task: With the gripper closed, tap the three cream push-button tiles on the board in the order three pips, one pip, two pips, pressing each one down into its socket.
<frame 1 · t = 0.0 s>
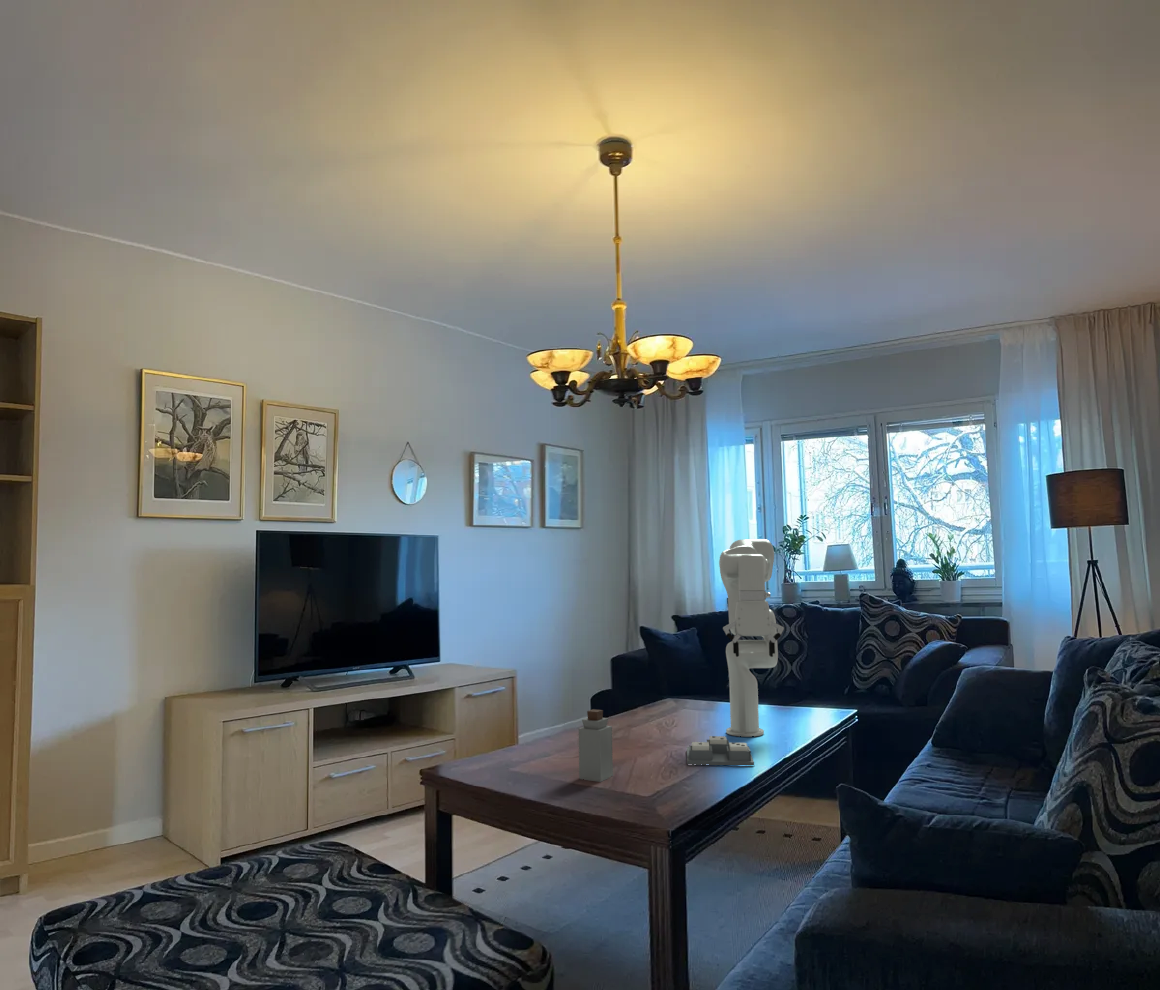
hand: (754, 656, 229), 31 cm above the table, tool pointing down, fingers open, 9 cm apart
perfume bottle: (596, 778, 217), on the table
button board: (719, 758, 236), on the table
button two: (717, 741, 241), point 4 cm above the table, slide at 0.0 cm
button three: (738, 747, 232), point 4 cm above the table, slide at 0.0 cm
button one: (700, 747, 233), point 4 cm above the table, slide at 0.0 cm
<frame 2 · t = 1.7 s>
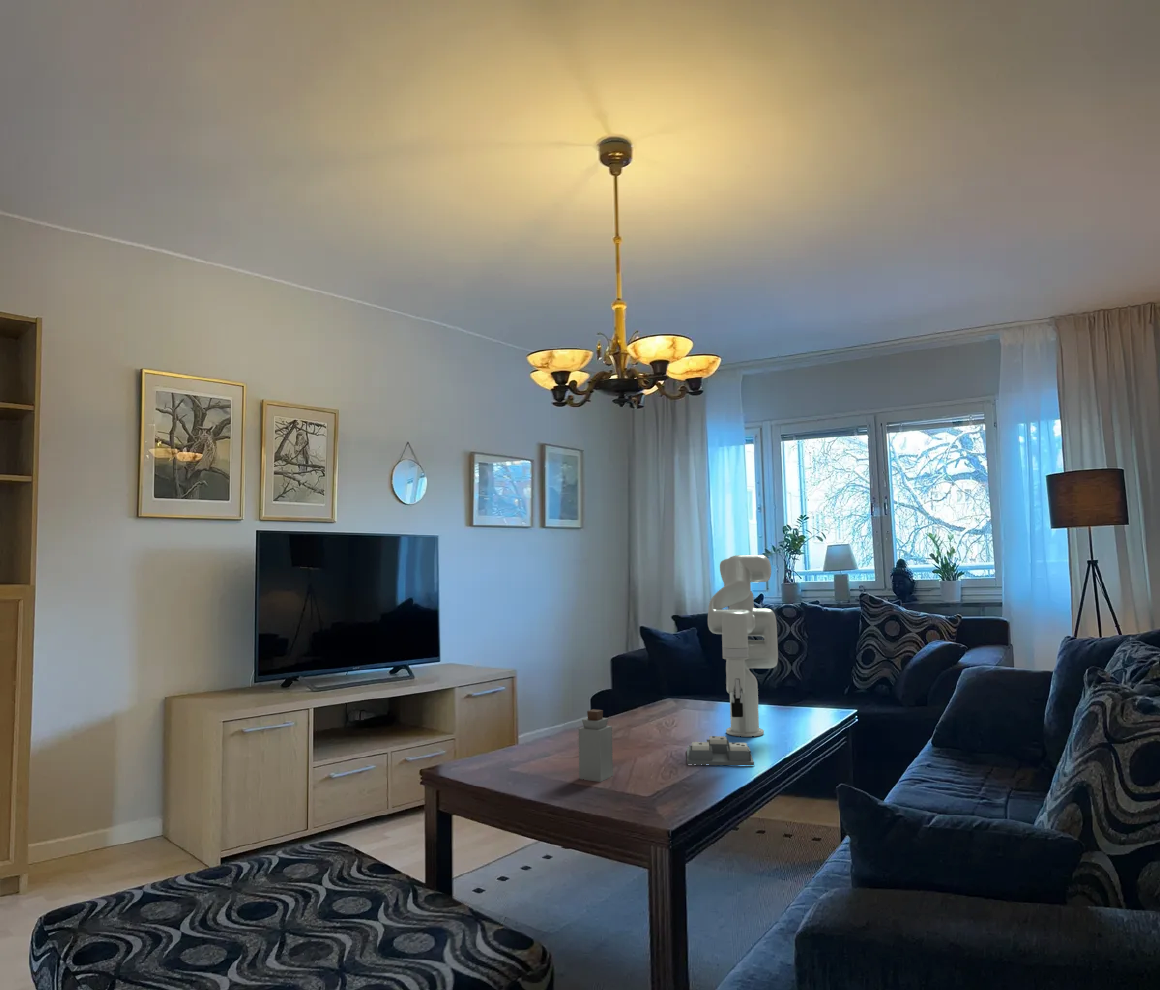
hand: (737, 716, 233), 13 cm above the table, tool pointing down, fingers closed
nothing on the table moved.
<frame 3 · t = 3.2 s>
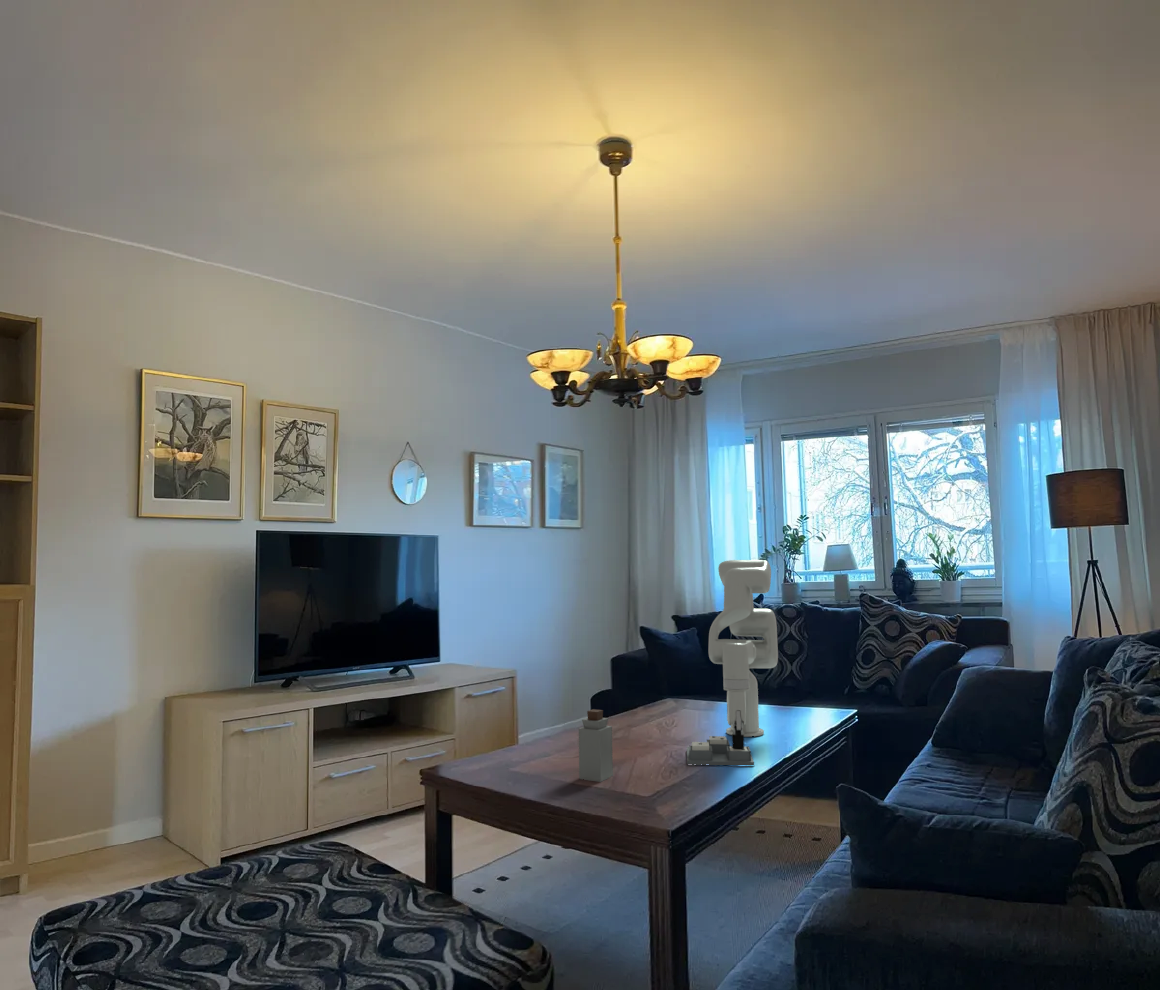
hand: (738, 748, 232), 4 cm above the table, tool pointing down, fingers closed
button three: (738, 751, 232), point 3 cm above the table, slide at 1.2 cm, touching gripper
everything else where it was.
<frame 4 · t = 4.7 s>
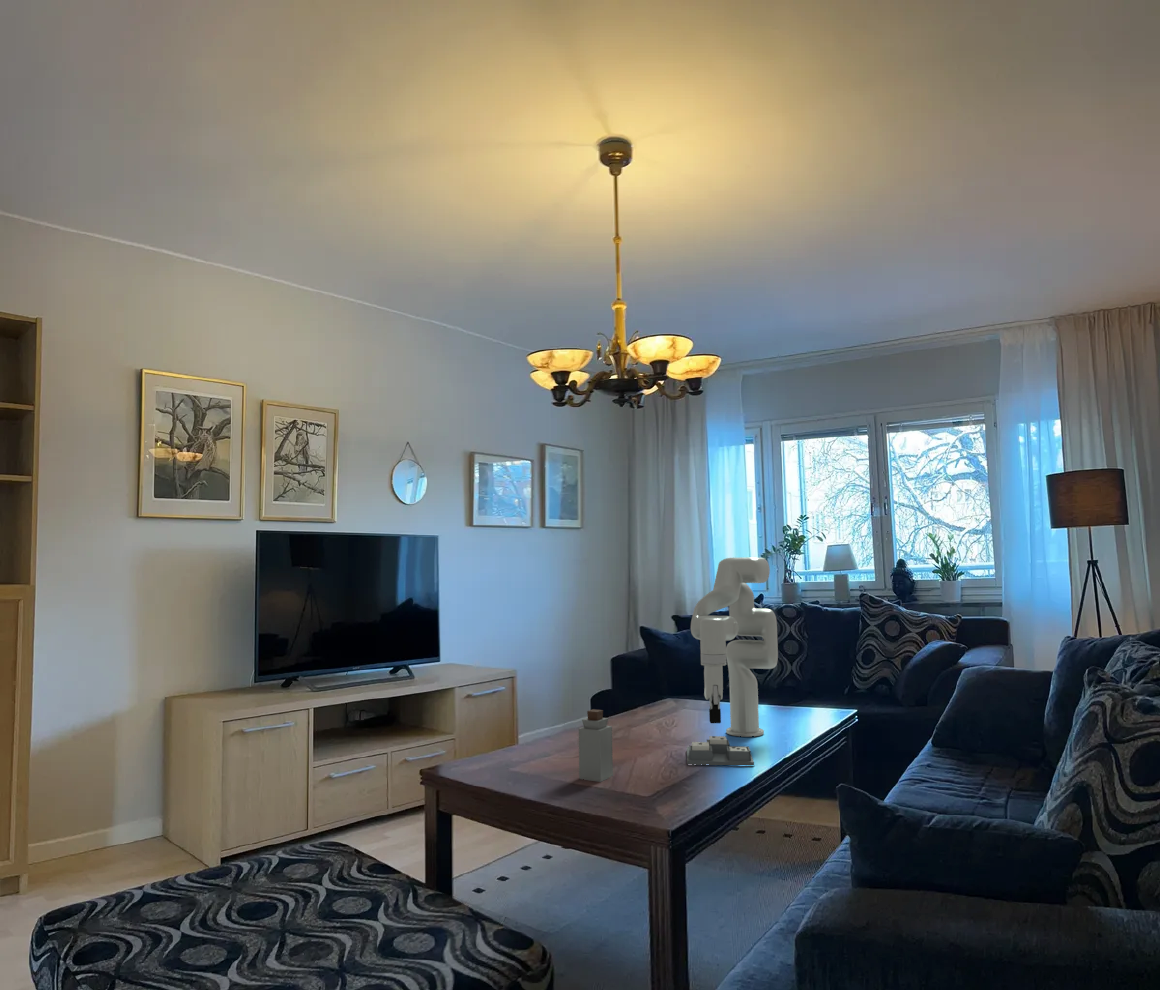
hand: (715, 722, 233), 11 cm above the table, tool pointing down, fingers closed
button three: (738, 752, 232), point 3 cm above the table, slide at 1.3 cm
everything else where it was.
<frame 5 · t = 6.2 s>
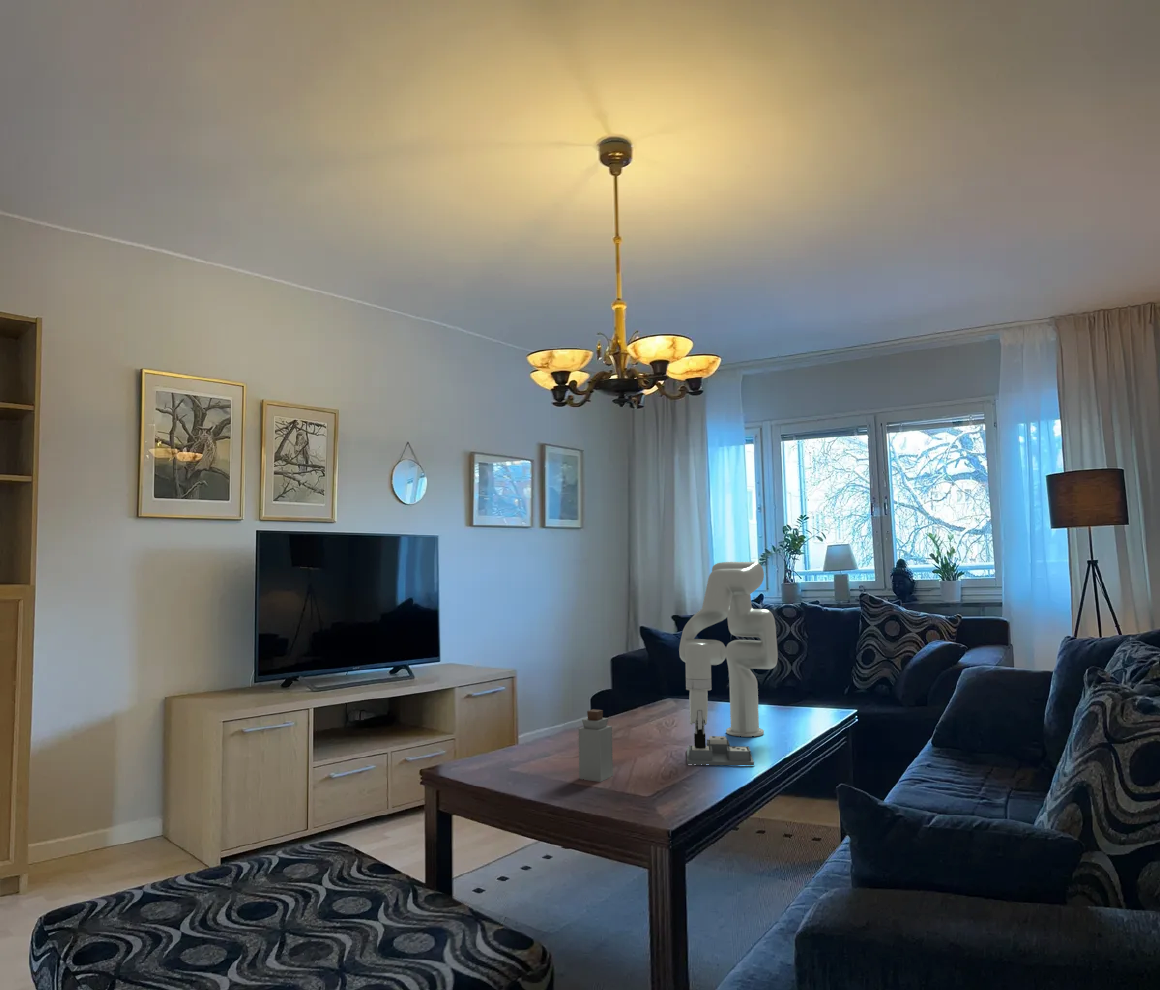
hand: (700, 747, 233), 4 cm above the table, tool pointing down, fingers closed
button one: (700, 751, 233), point 3 cm above the table, slide at 1.1 cm, touching gripper
everything else where it was.
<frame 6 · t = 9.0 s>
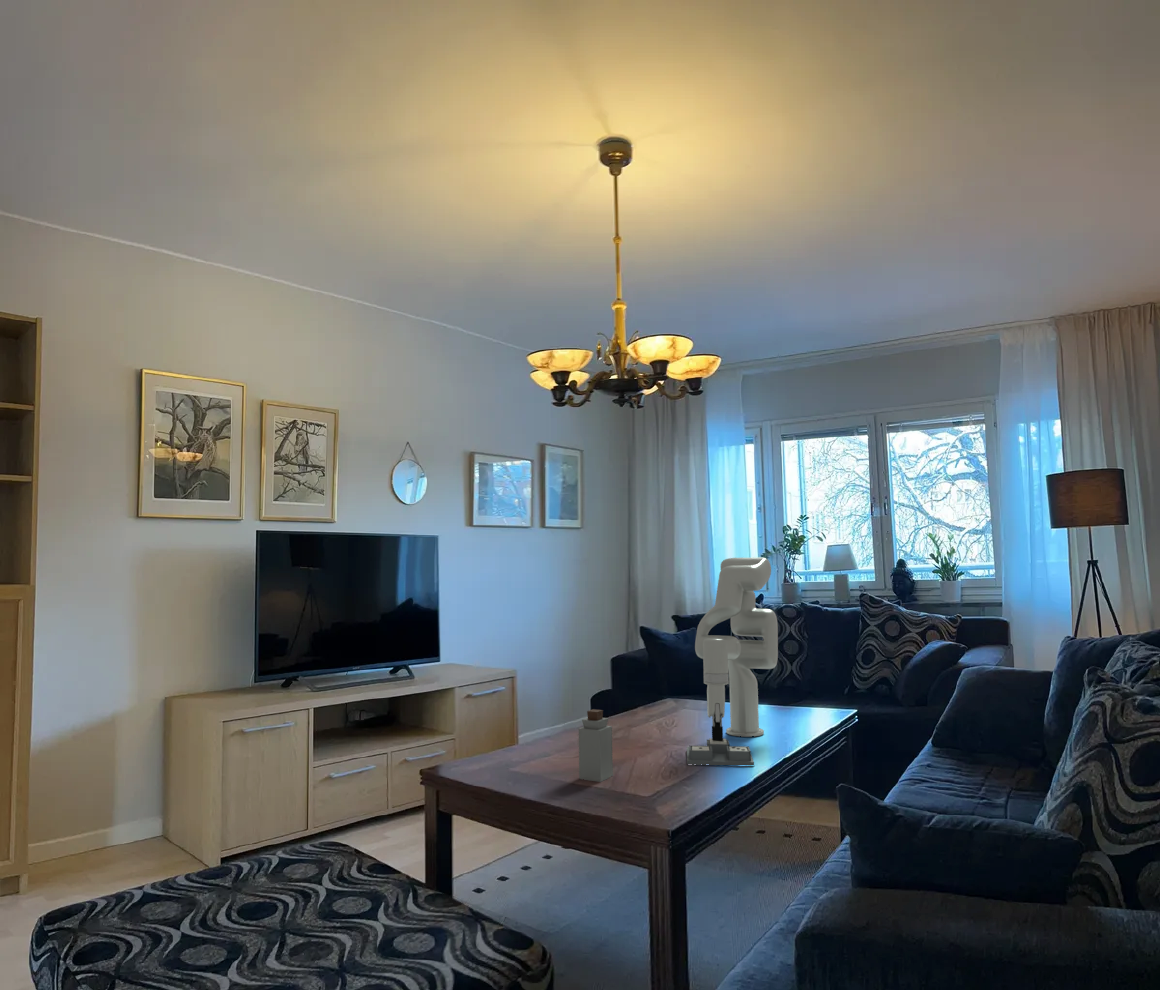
hand: (717, 739, 241), 5 cm above the table, tool pointing down, fingers closed
button two: (718, 743, 241), point 3 cm above the table, slide at 0.7 cm, touching gripper
button one: (700, 751, 233), point 3 cm above the table, slide at 1.3 cm
everything else where it was.
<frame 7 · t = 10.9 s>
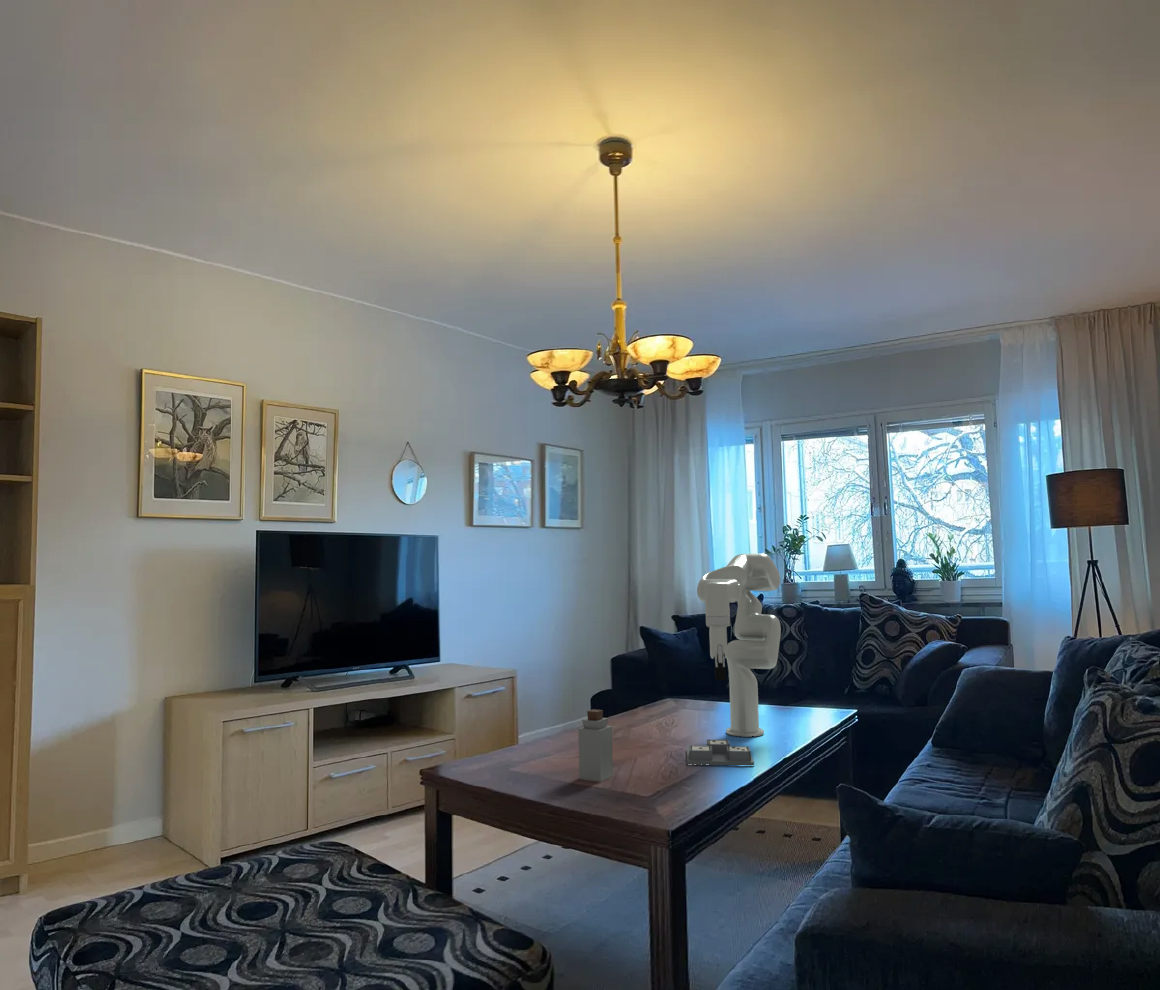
hand: (720, 679, 248), 22 cm above the table, tool pointing down, fingers closed
button two: (718, 745, 241), point 3 cm above the table, slide at 1.3 cm
everything else where it was.
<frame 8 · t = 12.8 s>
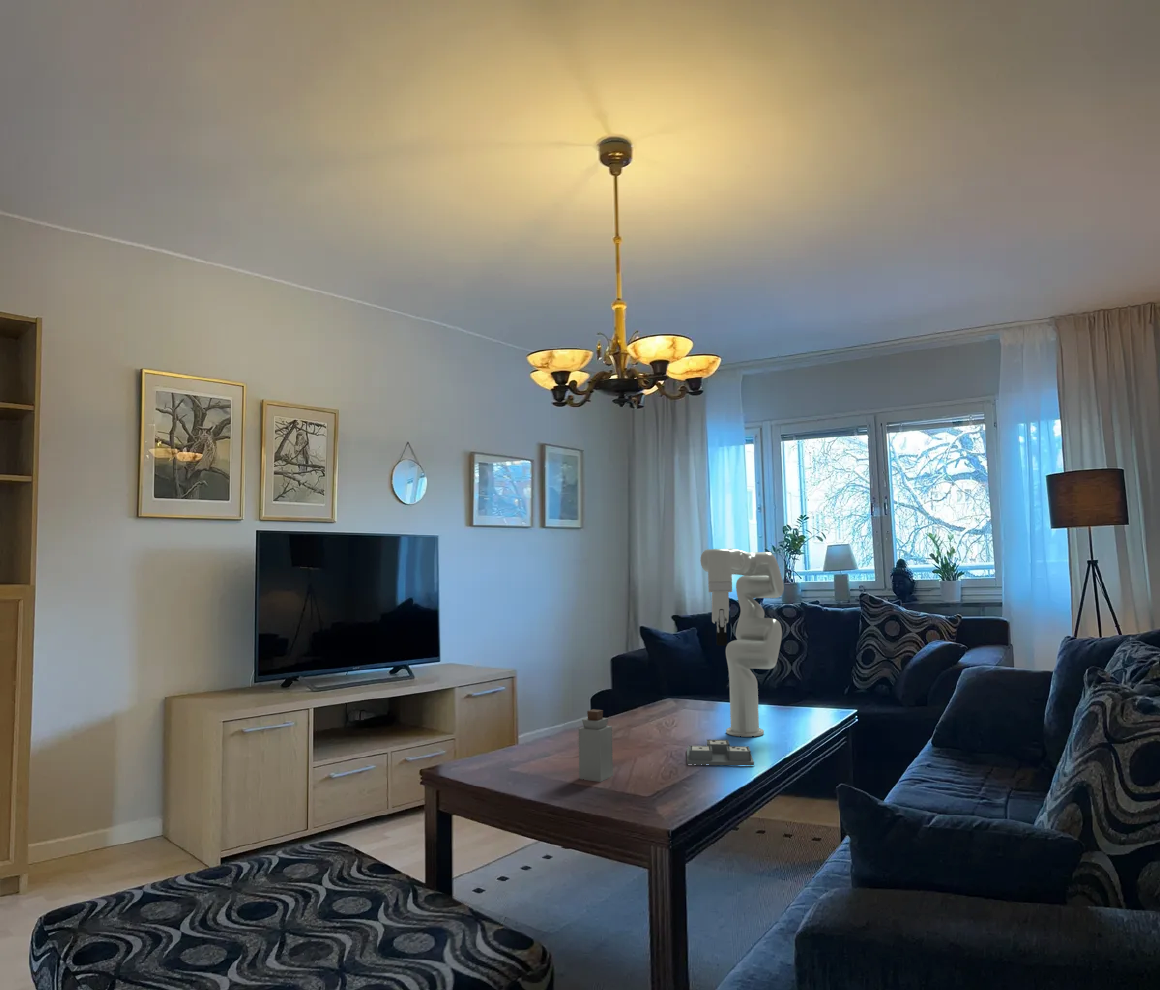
hand: (721, 645, 253), 32 cm above the table, tool pointing down, fingers closed
nothing on the table moved.
at the end: button three slide at 1.3 cm; button one slide at 1.3 cm; button two slide at 1.3 cm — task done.
